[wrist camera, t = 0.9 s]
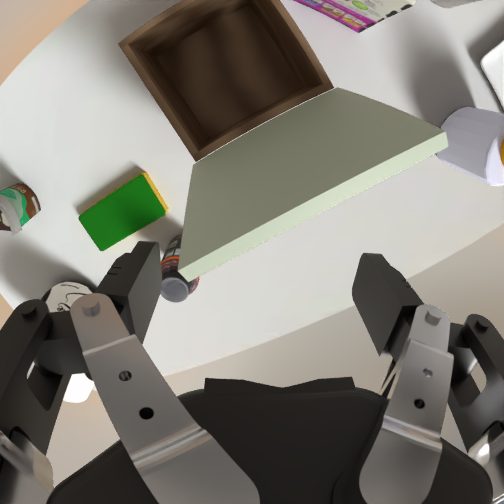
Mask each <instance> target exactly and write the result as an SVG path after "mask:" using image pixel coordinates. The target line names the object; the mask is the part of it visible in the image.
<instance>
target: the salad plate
mask: <svg viewBox="0 0 504 504" xmlns="http://www.w3.org/2000/svg"><path fill="white" fill-rule="evenodd" d="M480 64H481V68H482V70H483V71H484V73H485V75H486V77H487V78H488V80H489V82H490V83H491V85H492V87H493V89H494V91H495V93H496V95H497V97H498V99H499V101H500V103H501V105H502V107H503V110H504V40H502V41H501V42H500V43H499V44H498V45H497V46H495V47H494V48H493V49H491V50H490V51H489V52H488V53H486V54H485V55H484V56H483V58H482V59H481V61H480Z"/></svg>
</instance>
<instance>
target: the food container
mask: <svg viewBox="0 0 504 504" xmlns="http://www.w3.org/2000/svg"><path fill="white" fill-rule="evenodd" d="M40 210H41V208H40V204H39V201H38V199H37V196H36V195H35V193H34V192H33V190H32V189H31V188H29V187H28V186H27V185H24V184H16V185H14V186H11V187H9V188H7V189H4V190H2V191H0V230H6V231H11V232H12V235H13V234H14V233H17V232H19V231H20V230H22V228H21V227H22V226H23V225H24V224H25V223H27V222H28V221H29V220H30V219H31V218H32V217H33V216H35V215H36V214H37V213H38V212H39V211H40Z"/></svg>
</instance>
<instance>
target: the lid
mask: <svg viewBox="0 0 504 504" xmlns="http://www.w3.org/2000/svg"><path fill="white" fill-rule="evenodd" d="M447 147H449V146H448V141H447V136H446V131H444V130H442V129H440V128H438V127H436V126H434V125H432V124H430V123H428V122H426V121H424V120H421V119H419V118H417V117H415V116H413V115H410V114H408V113H406V112H403V111H401V110H399V109H396V108H394V107H391V106H389V105H386V104H384V103H381V102H379V101H376V100H373V99H370V98H368V97H365V96H362V95H359V94H356V93H353V92H350V91H347V90H344V89H341V88H335V89H333V90H331V91H329V92H327V93H324V94H322V95H320V96H318V97H316V98H314V99H312V100H309V101H307V102H305V103H303V104H301V105H299V106H297V107H295V108H293V109H291V110H289V111H287V112H285V113H283V114H281V115H279V116H277V117H276V118H274V119H272V120H270V121H268V122H266V123H264V124H262V125H260V126H259V127H257V128H255V129H253V130H251V131H250V132H248V133H246V134H244V135H242V136H241V137H239V138H237V139H235V140H234V141H232V142H230V143H228V144H227V145H225V146H223V147H222V148H220V149H218V150H217V151H215V152H213V153H212V154H210V155H208V156H207V157H205V158H203V159H202V160H200V161H199V162H197V163H195V164H194V165H193V169H192V175H191V181H190V187H189V193H188V199H187V206H186V212H185V219H184V226H183V233H182V241H181V248H180V256H179V264H178V272H179V273H180V274H181V275H182V276H183V277H184V278H185V279H186V280H187V281H188V282H190V281H192V280H193V279H195V278H197V277H199V276H201V275H203V274H205V273H207V272H209V271H211V270H213V269H214V268H216V267H218V266H220V265H222V264H224V263H226V262H228V261H230V260H232V259H234V258H235V257H237V256H239V255H241V254H243V253H245V252H247V251H249V250H251V249H253V248H255V247H257V246H258V245H260V244H262V243H264V242H266V241H268V240H270V239H272V238H274V237H276V236H278V235H279V234H281V233H283V232H285V231H287V230H289V229H291V228H293V227H295V226H297V225H299V224H301V223H303V222H304V221H306V220H308V219H310V218H312V217H314V216H316V215H318V214H320V213H322V212H324V211H326V210H327V209H329V208H331V207H333V206H335V205H337V204H339V203H341V202H343V201H345V200H347V199H349V198H351V197H352V196H354V195H356V194H358V193H360V192H362V191H364V190H366V189H368V188H370V187H372V186H374V185H376V184H378V183H379V182H381V181H383V180H385V179H387V178H389V177H391V176H393V175H395V174H397V173H399V172H401V171H403V170H405V169H407V168H408V167H410V166H412V165H414V164H416V163H418V162H420V161H422V160H424V159H426V158H428V157H430V156H432V155H434V154H436V153H437V152H439V151H441V150H443V149H445V148H447Z"/></svg>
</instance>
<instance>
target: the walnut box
mask: <svg viewBox="0 0 504 504" xmlns="http://www.w3.org/2000/svg"><path fill="white" fill-rule="evenodd" d="M118 44H119V46H120V47H121V49H122V51H123V52H124V54H125V55H126V57H127V58H128V60H129V61H130V63H131V64H132V66H133V67H134V69H135V70H136V72H137V73H138V75H139V76H140V78H141V79H142V81H143V82H144V84H145V85H146V87H147V88H148V90H149V91H150V93H151V94H152V96H153V98H154V99H155V101H156V102H157V104H158V105H159V107H160V108H161V110H162V111H163V113H164V114H165V116H166V117H167V119H168V120H169V122H170V123H171V125H172V126H173V128H174V129H175V131H176V132H177V134H178V136H179V137H180V139H181V140H182V142H183V143H184V145H185V146H186V148H187V149H188V151H189V152H190V154H191V155H192V157H193V158H194V160H195V161H196V162H197V161H198V160H200V159H202V158H203V157H205V156H207V155H208V154H210V153H211V152H213V151H215V150H216V149H218V148H220V147H222V146H223V145H225V144H227V143H228V142H230V141H232V140H233V139H235V138H237V137H239V136H240V135H242V134H244V133H246V132H248V131H249V130H251V129H253V128H255V127H257V126H258V125H260V124H262V123H264V122H266V121H268V120H270V119H272V118H273V117H275V116H277V115H279V114H281V113H283V112H285V111H287V110H289V109H291V108H293V107H295V106H297V105H299V104H301V103H303V102H305V101H307V100H309V99H311V98H314V97H316V96H318V95H320V94H322V93H324V92H326V91H329V90H331V89H333V88H334V87H333V85H332V83H331V81H330V79H329V78H328V76H327V74H326V72H325V70H324V69H323V67H322V65H321V63H320V62H319V60H318V58H317V57H316V55H315V53H314V52H313V50H312V48H311V47H310V45H309V43H308V42H307V40H306V38H305V37H304V35H303V34H302V32H301V31H300V29H299V28H298V26H297V25H296V23H295V21H294V20H293V19H292V17H291V16H290V14H289V13H288V11H287V10H286V8H285V7H284V5H283V4H282V3H281V1H280V0H183V1H181V2H179V3H178V4H176V5H174V6H173V7H171V8H169V9H168V10H166V11H164V12H163V13H161V14H160V15H158V16H156V17H155V18H153V19H152V20H150V21H149V22H147V23H146V24H144V25H143V26H142V27H140V28H139V29H137V30H136V31H134V32H133V33H132V34H130V35H129V36H128V37H126V38H125V39H123V40H122V41H121V42H120V43H118Z"/></svg>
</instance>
